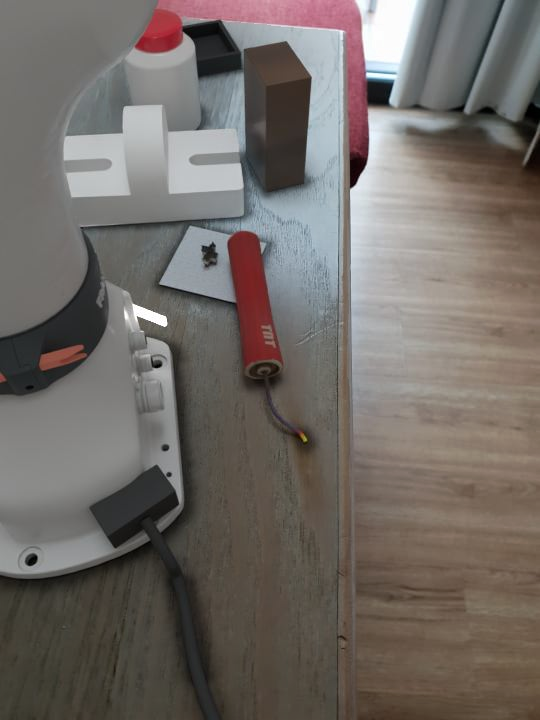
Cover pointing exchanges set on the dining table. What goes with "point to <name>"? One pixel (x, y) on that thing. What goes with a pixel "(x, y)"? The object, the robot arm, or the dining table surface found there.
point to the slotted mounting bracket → (153, 172)
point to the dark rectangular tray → (213, 48)
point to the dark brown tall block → (276, 114)
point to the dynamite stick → (255, 313)
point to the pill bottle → (165, 72)
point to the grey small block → (202, 265)
